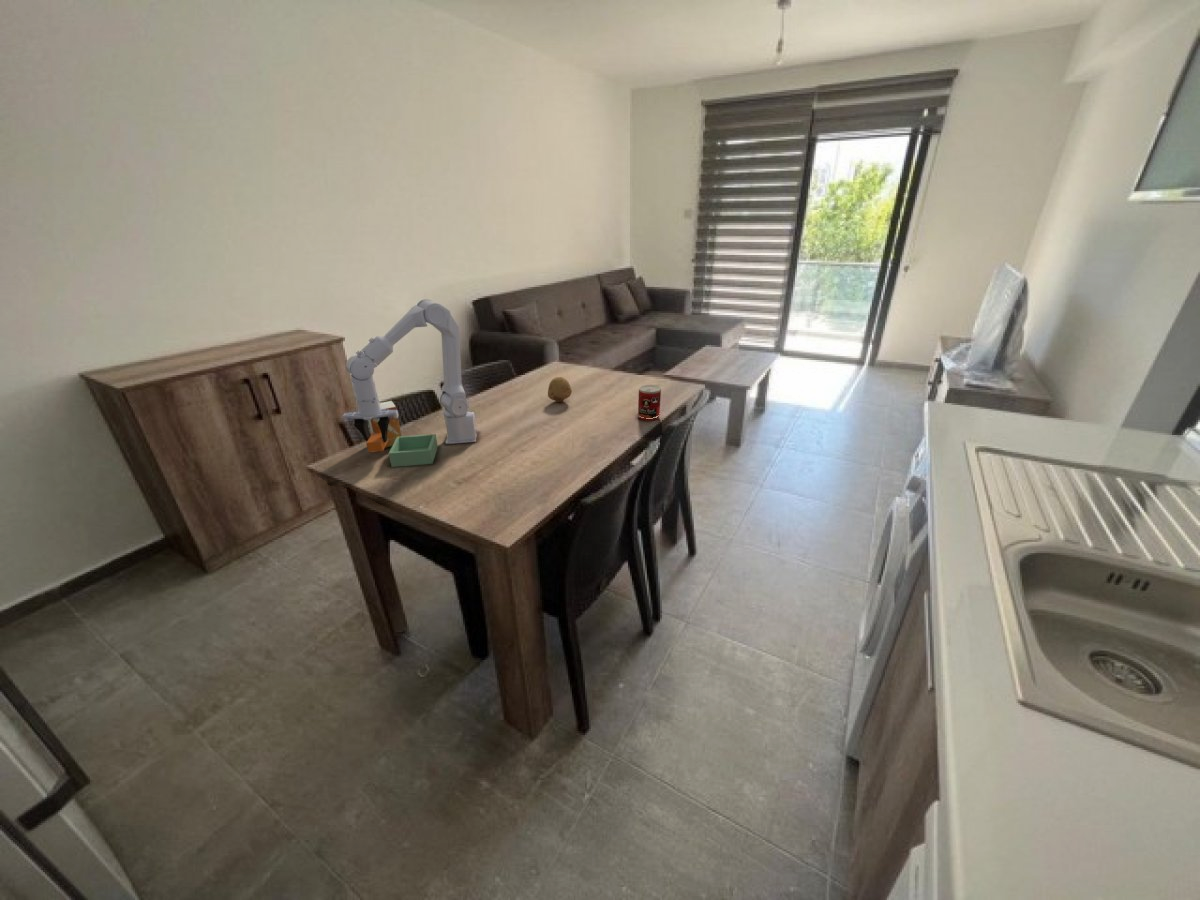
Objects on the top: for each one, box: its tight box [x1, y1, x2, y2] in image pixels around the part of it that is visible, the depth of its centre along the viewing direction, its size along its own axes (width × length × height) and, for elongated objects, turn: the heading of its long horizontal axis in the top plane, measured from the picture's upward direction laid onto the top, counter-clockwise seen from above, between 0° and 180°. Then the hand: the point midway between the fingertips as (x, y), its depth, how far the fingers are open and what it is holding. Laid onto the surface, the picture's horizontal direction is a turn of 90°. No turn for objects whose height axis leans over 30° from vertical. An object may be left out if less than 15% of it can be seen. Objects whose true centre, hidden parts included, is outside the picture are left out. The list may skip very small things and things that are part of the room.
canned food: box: [637, 384, 662, 422], centre depth 171 cm, size 8×8×11 cm
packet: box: [365, 432, 388, 453], centre depth 142 cm, size 4×7×3 cm, turn 9°
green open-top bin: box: [388, 433, 439, 468], centre depth 145 cm, size 12×12×4 cm
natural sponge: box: [547, 376, 573, 403], centre depth 185 cm, size 9×9×10 cm
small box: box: [368, 400, 403, 449], centre depth 151 cm, size 8×6×13 cm
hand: (377, 441), depth 142 cm, fingers closed on packet, 4 cm apart
